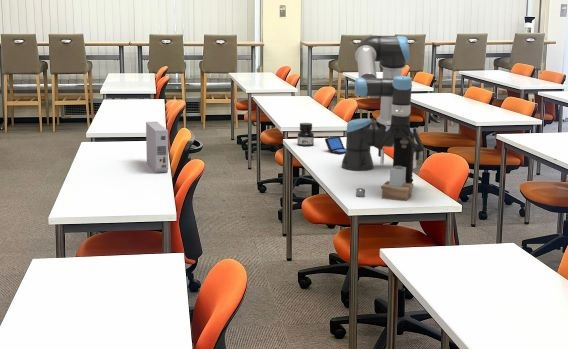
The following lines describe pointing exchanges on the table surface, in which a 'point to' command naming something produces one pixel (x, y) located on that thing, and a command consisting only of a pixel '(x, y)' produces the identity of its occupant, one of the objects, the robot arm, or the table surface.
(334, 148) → the handheld game console
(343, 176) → the table surface
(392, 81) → the robot arm
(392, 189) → the stand
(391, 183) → the housing
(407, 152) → the black carrying case
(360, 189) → the dark grey metallic dome
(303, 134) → the ink bottle
